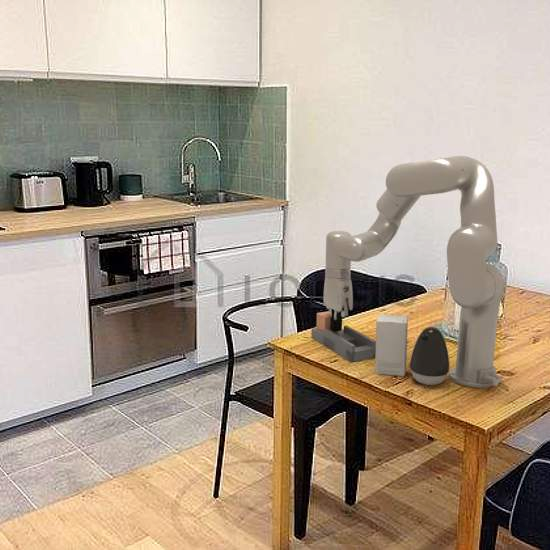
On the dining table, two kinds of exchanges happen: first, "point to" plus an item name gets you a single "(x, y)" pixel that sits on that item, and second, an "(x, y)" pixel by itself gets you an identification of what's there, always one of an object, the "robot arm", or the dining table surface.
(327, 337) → the trough
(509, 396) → the dining table surface
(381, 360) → the skincare box
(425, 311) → the dining table surface
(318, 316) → the block
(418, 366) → the egg-shaped speaker
